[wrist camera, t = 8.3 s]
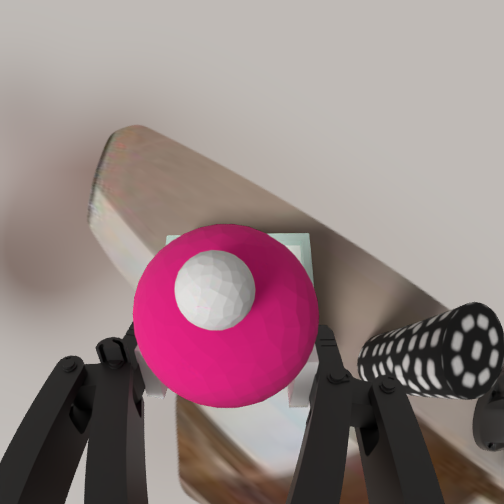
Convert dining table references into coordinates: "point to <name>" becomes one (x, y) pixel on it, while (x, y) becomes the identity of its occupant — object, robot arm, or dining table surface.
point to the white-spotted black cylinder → (440, 354)
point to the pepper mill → (225, 316)
